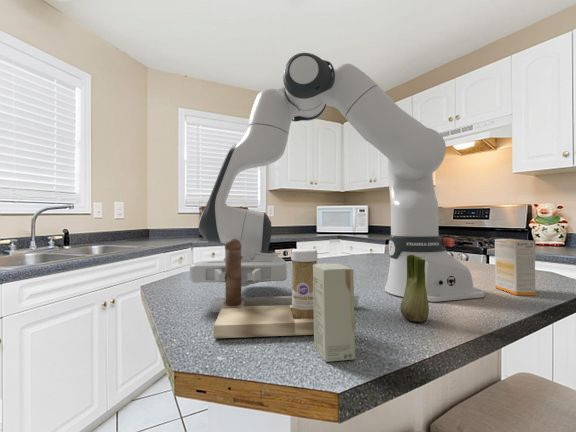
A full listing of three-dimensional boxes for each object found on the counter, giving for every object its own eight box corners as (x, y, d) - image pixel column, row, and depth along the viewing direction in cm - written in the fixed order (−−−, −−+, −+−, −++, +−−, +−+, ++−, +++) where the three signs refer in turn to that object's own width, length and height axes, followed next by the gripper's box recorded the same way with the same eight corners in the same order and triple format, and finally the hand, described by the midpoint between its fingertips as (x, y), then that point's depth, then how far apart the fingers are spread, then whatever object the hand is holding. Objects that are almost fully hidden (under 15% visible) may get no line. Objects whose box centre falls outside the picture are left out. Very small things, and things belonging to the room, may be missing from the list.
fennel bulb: (429, 326, 55) (429, 257, 55) (399, 323, 57) (398, 256, 57) (428, 317, 60) (428, 253, 60) (401, 314, 62) (400, 252, 62)
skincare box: (356, 361, 42) (355, 269, 42) (324, 363, 41) (324, 270, 41) (340, 342, 48) (339, 262, 48) (312, 344, 48) (312, 262, 48)
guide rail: (355, 305, 68) (355, 294, 68) (358, 307, 66) (358, 295, 66) (213, 310, 65) (213, 298, 65) (212, 312, 64) (212, 300, 64)
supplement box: (536, 295, 75) (536, 240, 75) (516, 296, 75) (515, 240, 75) (512, 288, 83) (512, 238, 83) (494, 288, 84) (494, 238, 84)
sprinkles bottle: (293, 330, 53) (292, 250, 53) (290, 321, 58) (290, 248, 58) (320, 329, 54) (319, 250, 54) (315, 321, 58) (314, 247, 58)
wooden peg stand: (325, 308, 65) (324, 236, 65) (343, 333, 51) (342, 242, 51) (224, 311, 63) (223, 237, 63) (213, 338, 49) (213, 244, 49)
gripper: (196, 253, 74) (180, 262, 60) (284, 252, 75) (288, 260, 61) (196, 280, 74) (181, 295, 60) (284, 279, 75) (289, 293, 61)
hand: (236, 277), depth 61 cm, fingers open, 4 cm apart
